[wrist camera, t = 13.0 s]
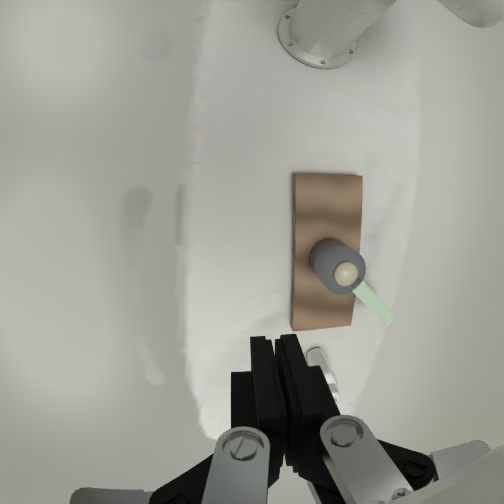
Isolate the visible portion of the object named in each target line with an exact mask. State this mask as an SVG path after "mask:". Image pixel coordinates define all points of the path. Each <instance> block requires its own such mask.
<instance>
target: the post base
mask: <svg viewBox="0 0 504 504" xmlns="http://www.w3.org/2000/svg"><path fill="white" fill-rule="evenodd" d="M361 217H362V176H357V175H335V174H293V264H292V301H291V328H292V331H303V330H314V329H323V328H332V327H341V326H349V325H351V321H352V315H353V307H354V300H355V294H354V293H353V292H350V293H347V294H342V295H339V294H334V293H332V292H330V291H329V290H328V289H327V288H326V287H325V286H324V284H323V283H322V282H321V281H320V279H319V278H318V277H317V275H316V274H315V273H314V272H313V270H312V268H311V266H310V261H309V259H310V253H311V251H312V249H313V247H314V246H315V245H316V244H317V243H318V242H320V241H321V240H323V239H327V238H335V239H338V240H340V241H341V242H343V243H344V244H346V245H347V246H349V247H350V248H352V249H353V250H355V251H356V252H357V253H359V251H360V236H361Z"/></svg>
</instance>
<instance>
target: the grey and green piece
mask: <svg viewBox="0 0 504 504" xmlns="http://www.w3.org/2000/svg"><path fill="white" fill-rule="evenodd" d="M309 261H310V266H311V268H312V270H313V272H314V273H315V274H316V275H317V277H318V278H319V279H320V281H321V282H322V283H323V284H324V286H325V287H326V288H327V289H328V290H329V291H330V292H332V293H334V294H339V295H342V294H347V293H350V292H353V293H354V294H355V295H356V296H357V297H358V298H359V299H360V300H361V301H362V302H363V303H364V304H365V305H366V306H367V307H368V308H369V309H370V310H371V311H372V312H373V313H374V314H375V315H376V317H377V318H378V319H379V320H380V321H381V322H382V323H383V324H384V325H385V326H386V327H387V326H388V325H389V324H390V323H391V322H392V321H393V319H395V318H396V317H395V316H394V314H393V313H392V312H391V311H390V310H389V309H388V308H387V307H386V305H385V304H384V303H383V302H382V301H381V300H380V299H379V298H378V297H377V295H376V294H375V293H374V292H373V291H372V290H371V289H370V288H369V287H368V286H367V284H366V283H365V282H364V281H363V278H364V276H365V270H366V267H365V262H364V259H363V258H362V256H361V255H360V254H359V253H357V252H356V251H355V250H353V249H352V248H350V247H349V246H347V245H346V244H344V243H343V242H341V241H340V240H338V239H335V238H327V239H323V240H321V241H320V242H318V243H317V244H316V245H315V246H314V247H313V249H312V251H311V253H310V259H309Z"/></svg>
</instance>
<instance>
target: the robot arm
mask: <svg viewBox="0 0 504 504" xmlns="http://www.w3.org/2000/svg"><path fill="white" fill-rule="evenodd" d="M395 1H396V0H299V3H298V5H297V7H294V8H292V9H290V10H288V11H287V12H286V13H285V14H284V15H283V16H282V18H281V19H280V22H279V26H278V35H279V39H280V41H281V43H282V45H283V47H284V48H285V49H286V50H287V51H288V53H290V54H291V55H292V56H293V57H294V58H296V59H297V60H299V61H300V62H303V63H305V64H307V65H309V66H313V67H316V68H323V69H332V68H337V67H340V66H343V65H344V64H346V63H347V62H349V61H350V60H351V59H352V58H353V56H354V55H355V53H356V50H357V39H358V38H359V37H360V36H361V35H362V34H363V33H364V32H365V31H366V30H367V29H368V28H369V27H370V26H371V25H372V24H373V23H374V22H375V21H376V20H377V19H379V18H380V17H381V16H382V15H383V14H384V13H385V12H386V11H387V10H388V9H389V8H390V7H391V6H392V5H393V4H394V3H395ZM437 1H438V2H439V3H441V4H442V5H443V6H445V7H446V8H447V9H448V10H449V11H451V12H452V13H453V14H454V15H456V16H457V17H458V18H460V19H461V20H462V21H464V22H466V23H467V24H470V25H472V26H475V27H479V28H486V27H491V26H494V25H496V24H498V23H500V22H502V21H503V20H504V0H437ZM288 45H290V46H288ZM321 63H322V64H321ZM250 349H251V371H246V372H231V429H229V430H227V431H226V432H224V433H223V434H222V435H221V436H220V437H219V438H218V441H217V443H216V447H215V451H214V453H213V454H212V455H210V456H209V457H208V458H206V459H205V460H203V461H202V462H200V463H199V464H197V465H196V466H195V467H193V468H191V469H190V470H188V471H187V472H185V473H183V474H182V475H180V476H179V477H177V478H175V479H174V480H172V481H170V482H169V483H167V484H165V485H164V486H162V487H160V488H159V489H157V490H156V491H154V492H144V491H143V490H120V489H100V488H89V487H88V488H80V489H78V490H75V492H74V493H73V494H72V495H71V499H70V504H267V497H268V488H269V487H270V486H271V485H272V484H274V483H275V482H276V481H277V480H278V479H279V473H280V467H282V464H283V456H284V455H285V460H286V465H287V466H292V467H293V472H294V473H297V472H298V474H299V476H300V477H302V478H304V479H306V480H307V483H308V486H309V489H310V491H311V493H312V495H313V498H314V500H315V502H316V504H504V444H503V445H501V446H499V447H497V448H495V449H493V450H490V448H489V446H488V445H487V444H486V443H485V442H483V441H480V440H475V441H471V442H468V443H464V444H461V445H458V446H454V447H451V448H447V449H443V450H438V451H434V452H432V453H431V454H430V455H425V454H422V453H419V452H416V451H412V450H409V449H405V448H402V447H399V446H396V445H393V444H390V443H387V442H384V441H381V440H378V439H376V438H375V436H374V435H373V433H372V432H371V430H370V429H369V428H368V426H367V425H366V424H365V423H364V422H363V421H362V420H361V419H359V418H357V417H354V416H350V415H341V414H340V412H339V410H338V407H337V405H336V402H335V400H334V397H333V395H332V393H331V390H330V388H329V385H328V383H327V381H326V378H325V376H324V374H323V371H322V369H321V367H320V366H319V365H316V366H308V365H307V363H306V360H305V357H304V354H303V352H302V349H301V346H300V344H299V341H298V338H297V335H296V334H286V335H281V336H280V339H275V355H274V351H273V346H272V341H271V339H270V340H266V338H265V336H257V337H250Z"/></svg>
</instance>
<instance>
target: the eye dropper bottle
mask: <svg viewBox="0 0 504 504" xmlns="http://www.w3.org/2000/svg"><path fill="white" fill-rule="evenodd" d="M307 362H308V365H309V366H316V365H319V366H320V367H321V369H322V371H323V374H324V376H325V378H326V381H327V383H328V385H329V388H330V390H331V393H332V395H333V397H334V400H335V402H336V405H337V400H338V399H339V397H340V394H339V392H338V390H337V380H336V377H335V375H334V373H333V371H332V369H331V366H330V364H329V362H328V360H327V358H326V356H325V354H324V352H323V351H322V350H321V349H320V348H315V349H312V350H310V351H308V353H307Z"/></svg>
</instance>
